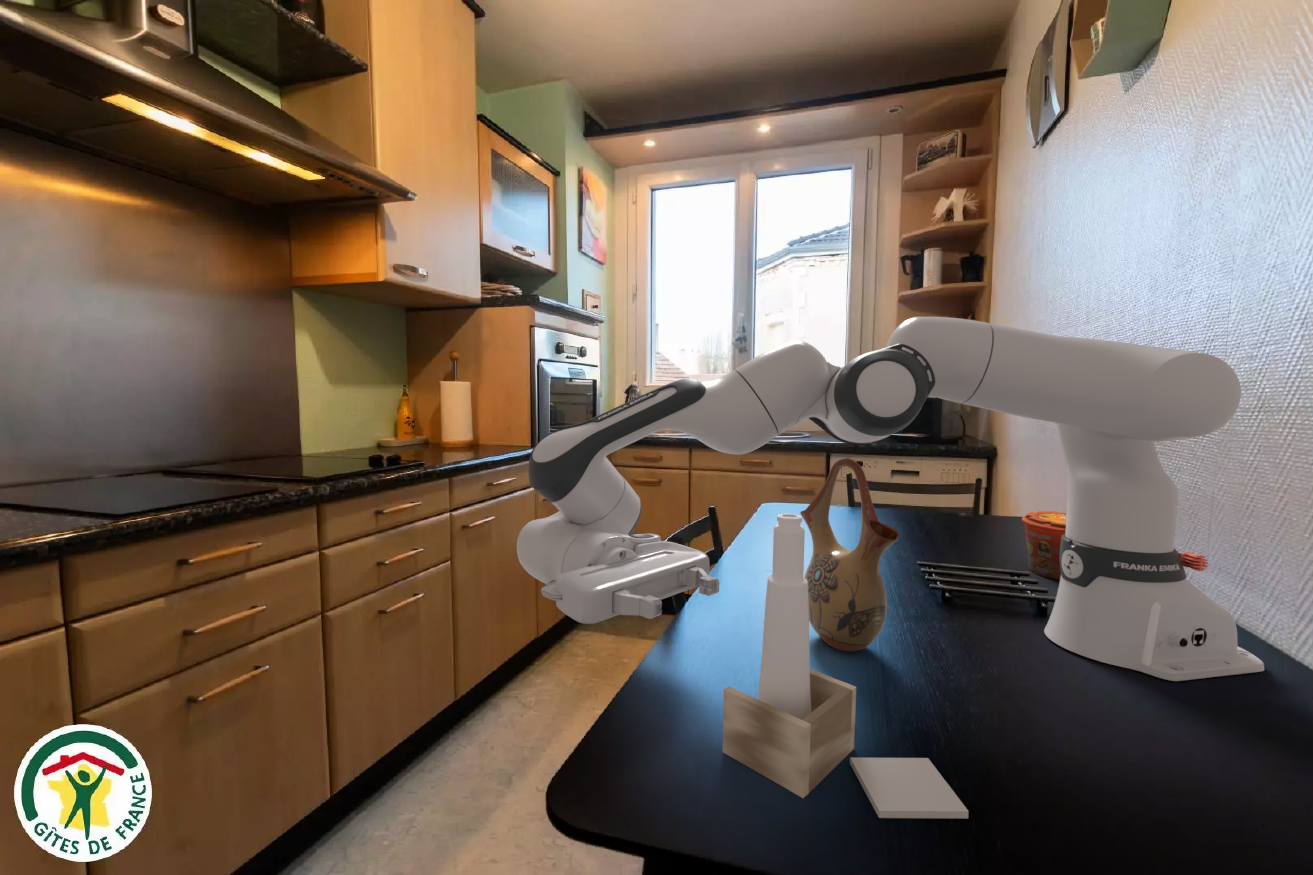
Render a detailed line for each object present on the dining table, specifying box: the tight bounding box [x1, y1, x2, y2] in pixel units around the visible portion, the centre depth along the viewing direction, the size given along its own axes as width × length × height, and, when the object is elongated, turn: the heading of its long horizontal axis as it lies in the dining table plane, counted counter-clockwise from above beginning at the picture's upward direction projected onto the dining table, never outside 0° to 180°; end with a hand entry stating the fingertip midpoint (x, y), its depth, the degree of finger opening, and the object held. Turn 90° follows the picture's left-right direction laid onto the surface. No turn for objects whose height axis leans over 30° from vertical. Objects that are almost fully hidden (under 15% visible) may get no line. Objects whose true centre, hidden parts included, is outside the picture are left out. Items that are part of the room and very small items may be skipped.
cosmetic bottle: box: [757, 513, 812, 720], centre depth 51 cm, size 6×6×22 cm
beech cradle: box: [722, 668, 857, 799], centre depth 51 cm, size 8×9×6 cm
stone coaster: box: [849, 757, 969, 819], centre depth 46 cm, size 7×6×1 cm
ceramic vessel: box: [799, 457, 900, 653], centre depth 73 cm, size 16×9×25 cm, turn 24°
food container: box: [1020, 510, 1067, 581], centre depth 105 cm, size 16×16×11 cm
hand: (687, 598), depth 60 cm, fingers open, 8 cm apart
